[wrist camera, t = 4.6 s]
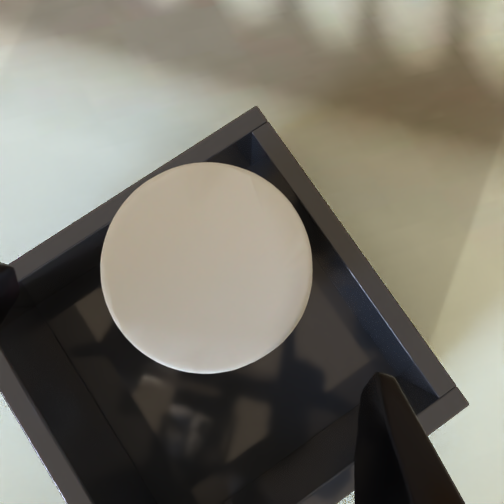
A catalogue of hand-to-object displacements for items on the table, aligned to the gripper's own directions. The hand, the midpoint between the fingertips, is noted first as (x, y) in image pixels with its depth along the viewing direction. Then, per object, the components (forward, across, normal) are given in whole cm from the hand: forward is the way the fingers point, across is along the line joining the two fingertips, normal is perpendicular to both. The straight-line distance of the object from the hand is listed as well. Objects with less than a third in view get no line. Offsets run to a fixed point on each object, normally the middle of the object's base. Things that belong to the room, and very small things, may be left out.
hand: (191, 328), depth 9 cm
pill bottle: (+7, 0, +5) cm, 9 cm away
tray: (+5, 0, +7) cm, 9 cm away
